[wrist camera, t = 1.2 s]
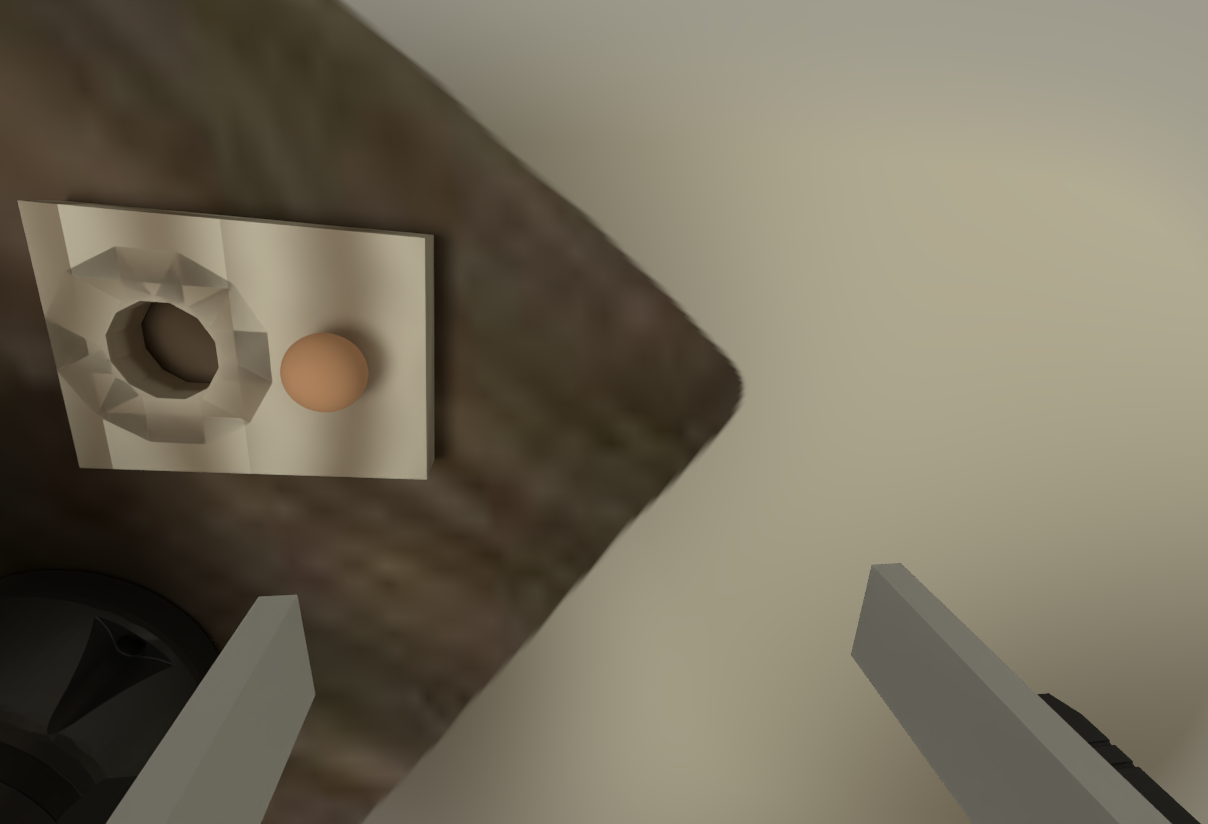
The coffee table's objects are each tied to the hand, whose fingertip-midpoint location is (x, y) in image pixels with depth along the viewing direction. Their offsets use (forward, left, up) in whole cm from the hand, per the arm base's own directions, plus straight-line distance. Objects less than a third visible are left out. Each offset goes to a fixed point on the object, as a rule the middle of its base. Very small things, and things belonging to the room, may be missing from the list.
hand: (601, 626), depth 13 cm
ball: (-11, +1, -15) cm, 18 cm away
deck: (-15, +1, -19) cm, 24 cm away
